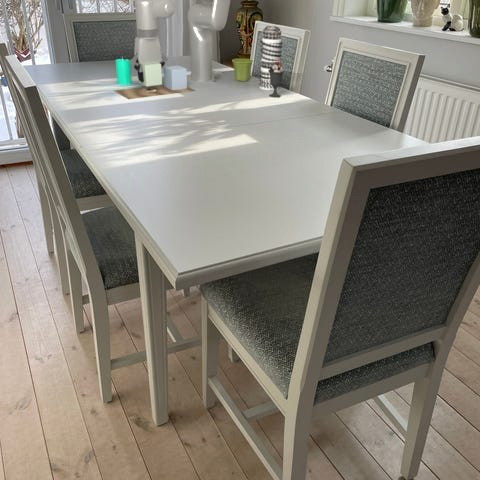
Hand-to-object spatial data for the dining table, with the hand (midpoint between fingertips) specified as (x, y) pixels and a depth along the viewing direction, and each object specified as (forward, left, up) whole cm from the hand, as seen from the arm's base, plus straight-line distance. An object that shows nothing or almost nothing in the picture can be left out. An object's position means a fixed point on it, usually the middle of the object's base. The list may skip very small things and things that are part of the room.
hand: (150, 79), depth 208 cm
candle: (+5, -16, -5) cm, 17 cm away
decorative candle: (-49, +15, -5) cm, 52 cm away
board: (-1, +1, -5) cm, 5 cm away
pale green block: (0, 0, -1) cm, 1 cm away
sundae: (-43, +27, -5) cm, 51 cm away
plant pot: (-47, -3, -5) cm, 48 cm away
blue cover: (-11, 0, -4) cm, 12 cm away
